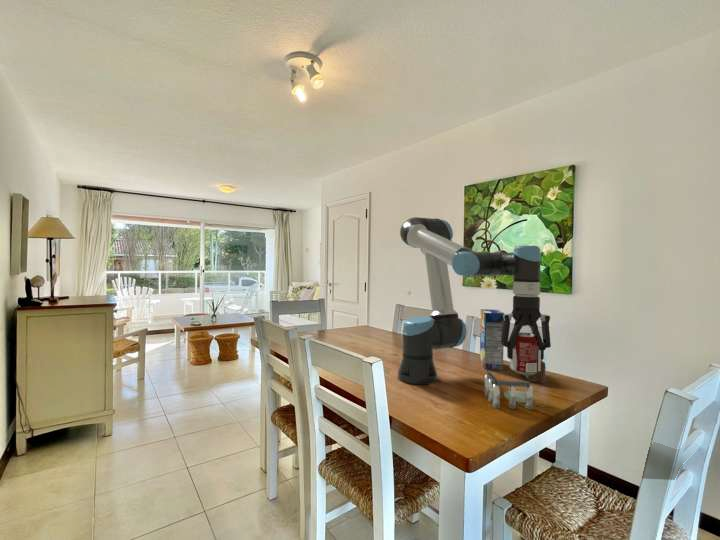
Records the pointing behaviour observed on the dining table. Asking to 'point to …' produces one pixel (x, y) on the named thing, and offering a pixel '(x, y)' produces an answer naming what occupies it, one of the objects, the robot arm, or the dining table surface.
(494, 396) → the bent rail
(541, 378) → the food item
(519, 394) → the coaster
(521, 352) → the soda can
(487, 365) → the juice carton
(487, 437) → the dining table surface
